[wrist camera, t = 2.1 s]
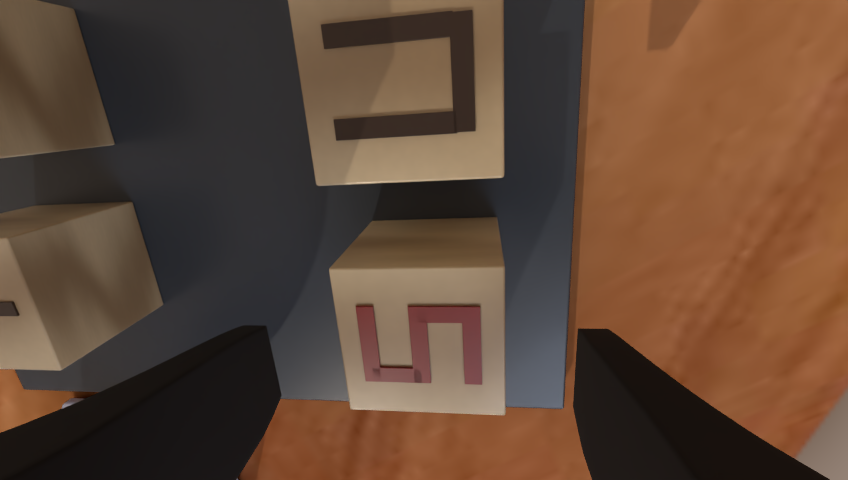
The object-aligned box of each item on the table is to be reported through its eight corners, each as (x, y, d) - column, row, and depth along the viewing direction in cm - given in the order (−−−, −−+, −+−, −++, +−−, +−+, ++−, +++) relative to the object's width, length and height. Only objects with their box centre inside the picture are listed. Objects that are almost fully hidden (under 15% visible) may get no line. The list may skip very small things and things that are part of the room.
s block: (498, 329, 14) (505, 418, 10) (383, 328, 15) (349, 411, 11) (497, 216, 13) (505, 267, 9) (371, 220, 14) (326, 269, 10)
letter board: (559, 392, 16) (594, 520, 11) (44, 376, 20) (-103, 469, 15) (596, -413, 9) (735, -1020, 4) (-212, -216, 13) (-659, -422, 8)
